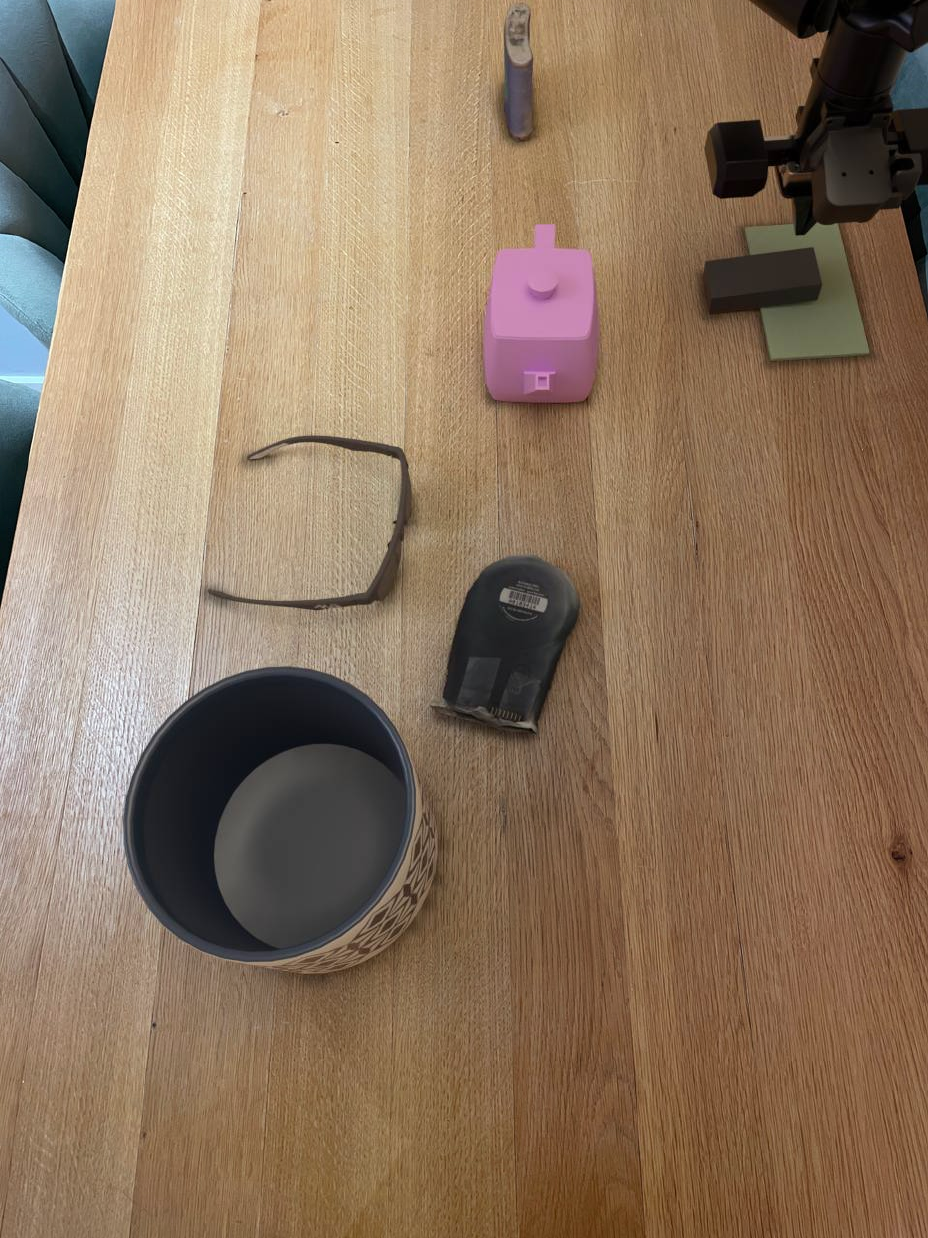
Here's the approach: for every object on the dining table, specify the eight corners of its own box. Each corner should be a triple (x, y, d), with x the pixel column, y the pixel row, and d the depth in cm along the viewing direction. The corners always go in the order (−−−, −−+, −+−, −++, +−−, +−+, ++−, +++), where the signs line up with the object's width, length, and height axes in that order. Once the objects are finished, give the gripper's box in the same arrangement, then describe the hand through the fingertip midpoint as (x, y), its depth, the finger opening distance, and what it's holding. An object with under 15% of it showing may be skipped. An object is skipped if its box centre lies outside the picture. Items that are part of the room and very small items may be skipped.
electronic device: (548, 746, 76) (592, 573, 79) (538, 734, 71) (585, 550, 74) (440, 720, 79) (487, 554, 82) (423, 706, 73) (473, 530, 77)
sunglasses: (396, 633, 79) (381, 609, 74) (213, 616, 82) (188, 592, 78) (431, 465, 85) (420, 433, 80) (259, 455, 88) (239, 425, 84)
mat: (744, 229, 94) (745, 226, 93) (836, 223, 93) (837, 220, 93) (770, 361, 87) (771, 358, 87) (868, 355, 87) (869, 352, 87)
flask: (532, 141, 100) (534, 45, 90) (505, 143, 100) (503, 47, 90) (529, 80, 103) (530, -19, 93) (502, 81, 103) (500, -17, 94)
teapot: (595, 441, 85) (605, 369, 76) (479, 438, 86) (474, 367, 76) (597, 284, 92) (605, 200, 82) (489, 283, 93) (485, 200, 83)
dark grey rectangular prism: (813, 246, 88) (704, 260, 89) (822, 283, 86) (711, 297, 88) (808, 265, 90) (702, 279, 92) (817, 302, 89) (708, 316, 90)
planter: (205, 746, 76) (127, 680, 61) (429, 722, 76) (406, 650, 61) (202, 986, 69) (113, 979, 54) (449, 961, 69) (429, 947, 54)
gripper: (745, 159, 66) (705, 310, 81) (1015, 140, 66) (926, 296, 80) (723, 50, 71) (688, 212, 85) (976, 31, 70) (898, 198, 84)
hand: (798, 231), depth 83 cm, fingers closed
